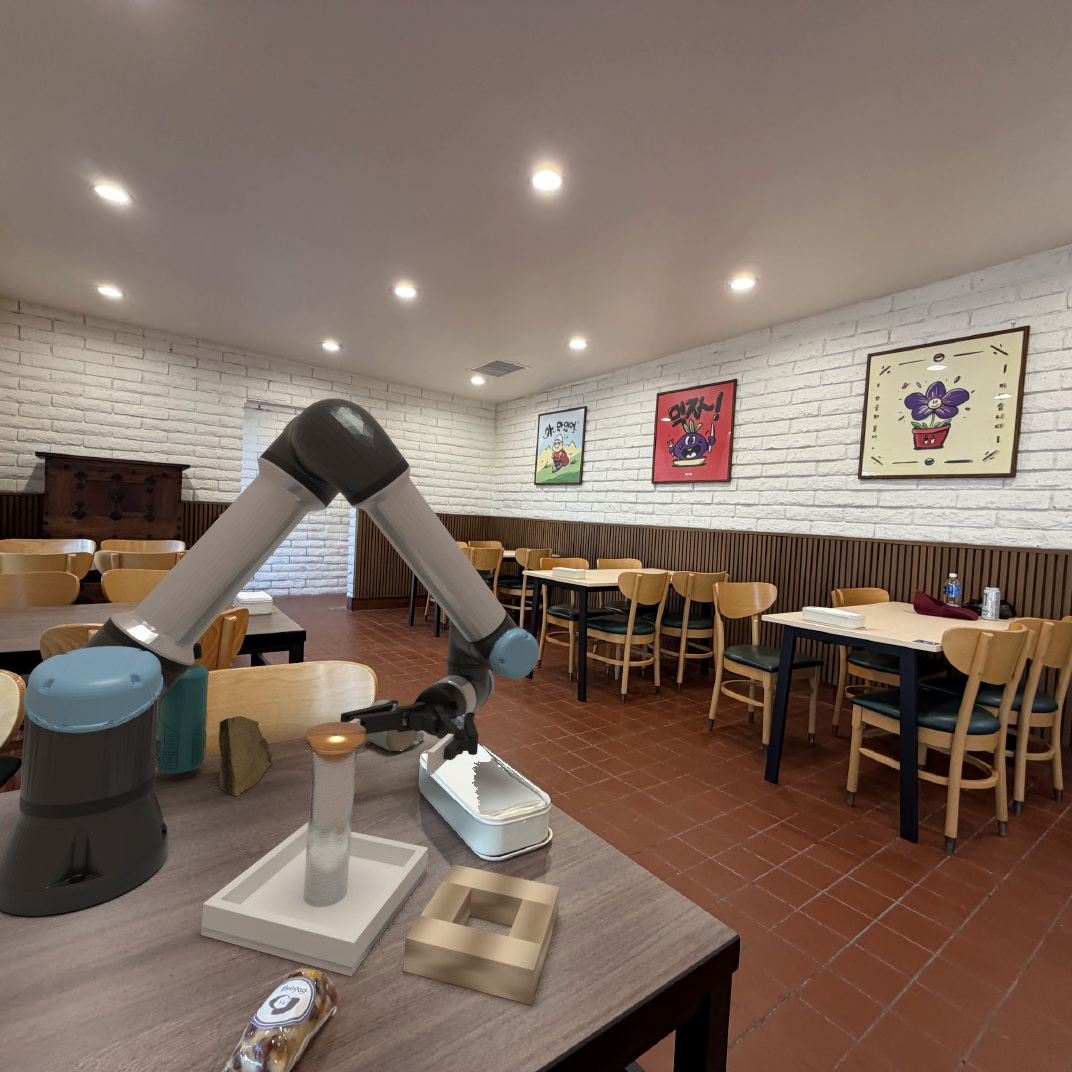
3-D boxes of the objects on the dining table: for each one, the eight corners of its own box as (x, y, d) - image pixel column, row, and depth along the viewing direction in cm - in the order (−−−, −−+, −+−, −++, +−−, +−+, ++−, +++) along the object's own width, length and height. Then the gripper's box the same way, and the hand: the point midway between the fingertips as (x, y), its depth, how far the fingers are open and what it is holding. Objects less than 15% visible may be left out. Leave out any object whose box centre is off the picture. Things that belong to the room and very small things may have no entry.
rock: (258, 742, 94) (196, 750, 86) (284, 707, 92) (224, 713, 84) (281, 798, 89) (218, 814, 81) (309, 763, 87) (248, 775, 79)
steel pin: (282, 904, 58) (293, 737, 58) (317, 871, 63) (328, 718, 63) (334, 917, 56) (346, 746, 56) (365, 882, 62) (376, 726, 62)
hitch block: (403, 970, 51) (405, 938, 51) (452, 891, 63) (454, 864, 63) (531, 1005, 49) (533, 970, 48) (557, 914, 60) (559, 887, 60)
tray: (201, 935, 54) (203, 903, 54) (305, 846, 69) (307, 822, 69) (351, 976, 50) (353, 943, 50) (426, 873, 66) (428, 847, 66)
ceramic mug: (386, 759, 97) (390, 714, 97) (358, 745, 102) (362, 702, 102) (433, 744, 105) (437, 703, 105) (405, 732, 110) (408, 693, 110)
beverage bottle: (212, 773, 87) (221, 644, 87) (165, 788, 81) (174, 650, 81) (190, 761, 90) (199, 637, 90) (144, 775, 85) (153, 642, 85)
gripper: (518, 740, 87) (472, 802, 66) (372, 717, 93) (287, 767, 72) (522, 692, 87) (476, 739, 66) (375, 671, 93) (292, 709, 72)
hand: (378, 754), depth 69 cm, fingers open, 13 cm apart
